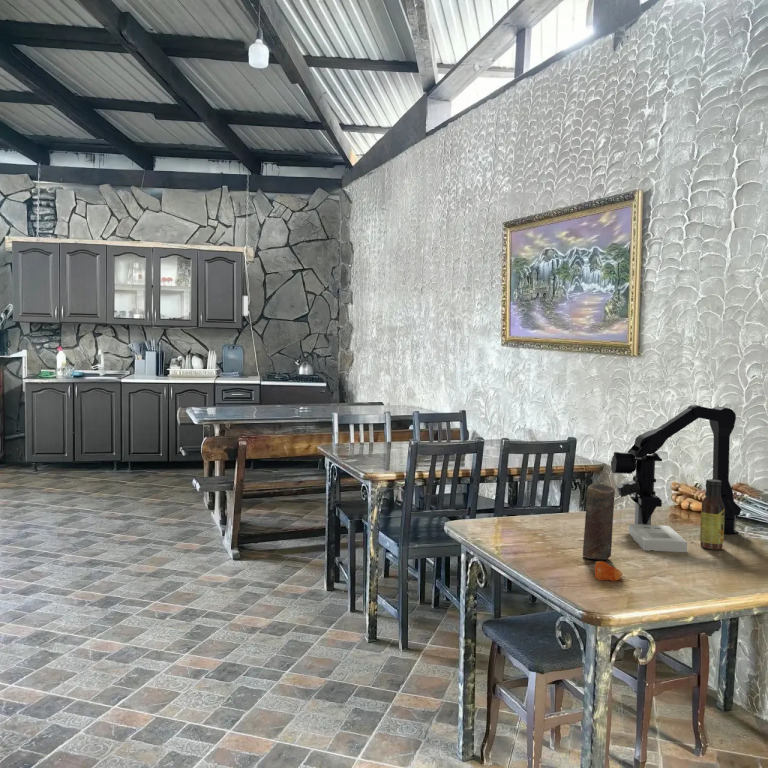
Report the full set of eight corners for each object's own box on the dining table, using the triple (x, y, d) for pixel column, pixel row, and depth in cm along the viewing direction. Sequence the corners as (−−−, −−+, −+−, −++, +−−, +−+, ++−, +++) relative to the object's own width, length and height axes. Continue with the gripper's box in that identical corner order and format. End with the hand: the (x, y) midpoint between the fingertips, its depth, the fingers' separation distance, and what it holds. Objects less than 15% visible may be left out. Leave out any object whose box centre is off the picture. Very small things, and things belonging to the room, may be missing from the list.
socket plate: (628, 533, 219) (628, 523, 219) (668, 535, 218) (668, 525, 218) (643, 550, 201) (643, 539, 201) (686, 552, 200) (687, 541, 200)
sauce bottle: (725, 551, 202) (729, 483, 201) (702, 549, 203) (705, 481, 202) (719, 545, 208) (723, 479, 207) (697, 543, 209) (700, 477, 208)
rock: (636, 591, 169) (637, 573, 169) (584, 586, 171) (584, 569, 171) (628, 574, 181) (629, 558, 181) (579, 570, 183) (580, 554, 183)
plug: (634, 526, 228) (635, 502, 227) (647, 527, 227) (648, 502, 227) (637, 529, 224) (638, 505, 223) (650, 530, 223) (651, 505, 223)
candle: (611, 556, 194) (615, 485, 193) (611, 564, 187) (614, 490, 186) (583, 553, 197) (586, 482, 195) (581, 560, 190) (584, 487, 189)
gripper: (612, 468, 234) (610, 514, 235) (625, 478, 216) (623, 528, 217) (647, 469, 233) (645, 515, 234) (663, 480, 215) (661, 530, 216)
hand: (642, 522), depth 225 cm, fingers closed on plug, 4 cm apart
